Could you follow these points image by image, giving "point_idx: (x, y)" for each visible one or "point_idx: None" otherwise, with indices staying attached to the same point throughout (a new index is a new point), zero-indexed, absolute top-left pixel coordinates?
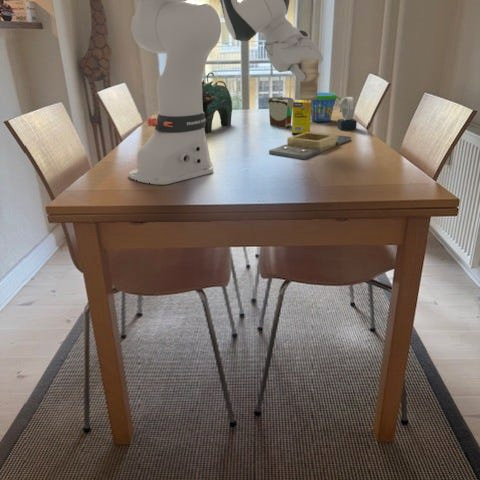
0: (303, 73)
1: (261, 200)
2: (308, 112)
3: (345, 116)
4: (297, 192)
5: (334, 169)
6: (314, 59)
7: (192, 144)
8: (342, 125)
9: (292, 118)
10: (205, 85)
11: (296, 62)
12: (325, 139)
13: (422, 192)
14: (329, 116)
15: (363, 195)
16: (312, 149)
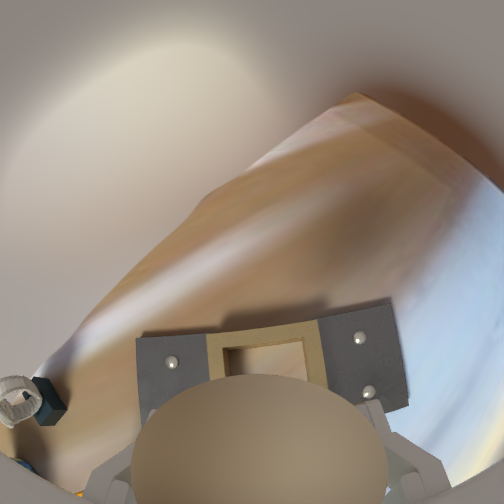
0: (375, 425)
1: None
2: None
3: (26, 410)
4: (481, 198)
5: (390, 217)
6: (278, 402)
7: None
8: (57, 407)
9: None
10: None
11: (440, 495)
12: (275, 329)
13: (365, 109)
14: (18, 460)
15: (426, 142)
16: (330, 334)
